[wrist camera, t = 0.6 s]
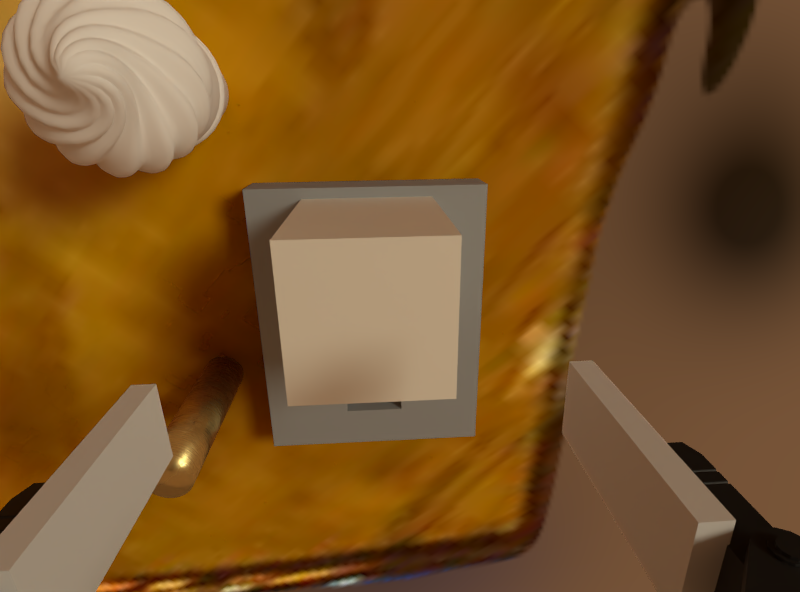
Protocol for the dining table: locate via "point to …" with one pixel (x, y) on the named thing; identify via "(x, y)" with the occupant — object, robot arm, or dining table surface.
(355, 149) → the dining table surface
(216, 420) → the brass pin
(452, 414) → the socket board
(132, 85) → the soft serve ice cream cone
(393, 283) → the block
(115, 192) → the dining table surface
